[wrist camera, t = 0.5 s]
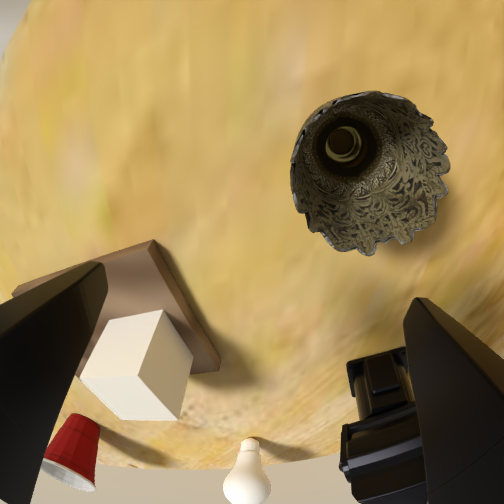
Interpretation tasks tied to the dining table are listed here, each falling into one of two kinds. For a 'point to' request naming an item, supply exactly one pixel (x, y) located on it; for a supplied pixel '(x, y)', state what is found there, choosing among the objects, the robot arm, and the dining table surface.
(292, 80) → the dining table surface
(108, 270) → the board
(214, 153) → the dining table surface
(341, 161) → the dark bronze hollow piece
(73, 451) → the plastic cup
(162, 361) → the off-white cube
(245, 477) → the lightbulb
